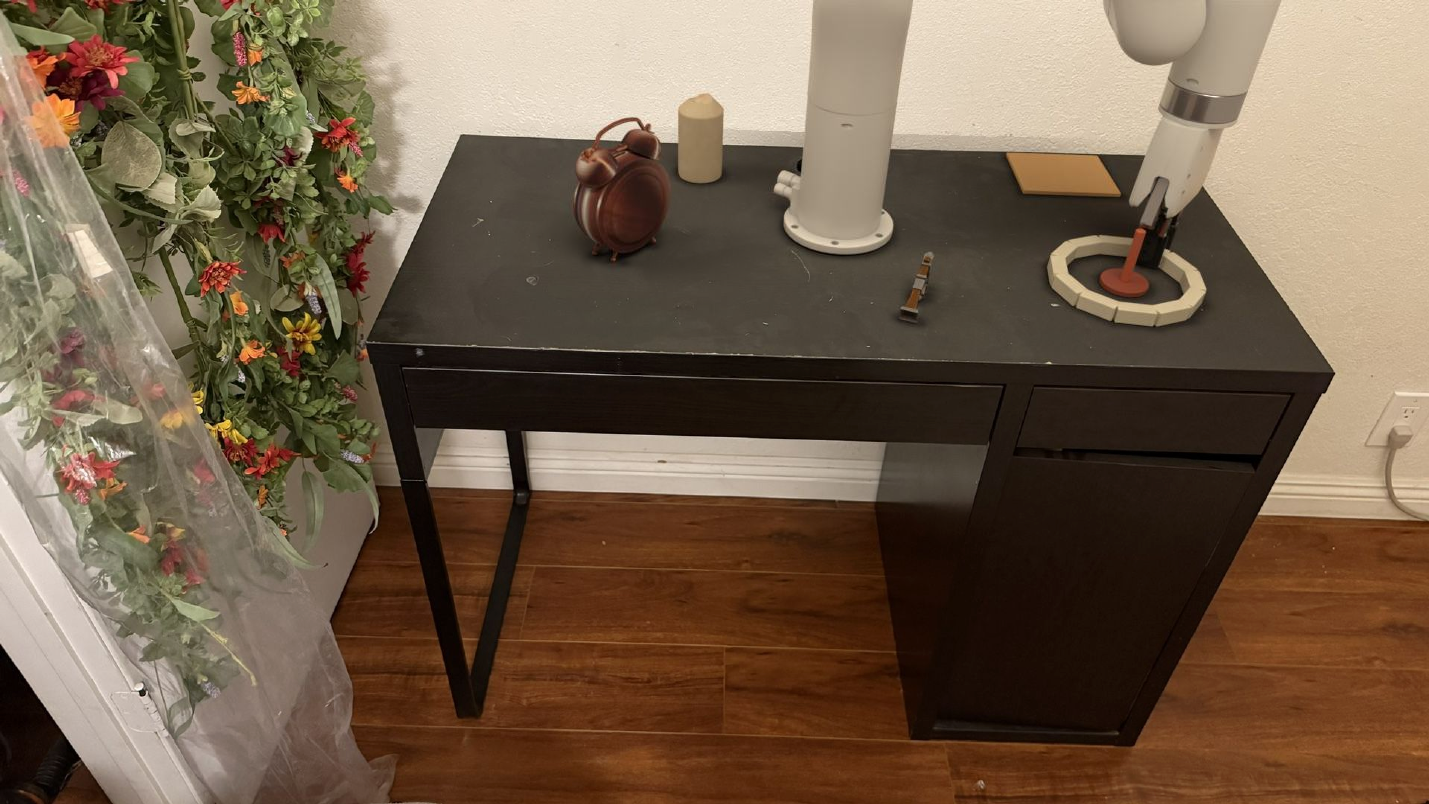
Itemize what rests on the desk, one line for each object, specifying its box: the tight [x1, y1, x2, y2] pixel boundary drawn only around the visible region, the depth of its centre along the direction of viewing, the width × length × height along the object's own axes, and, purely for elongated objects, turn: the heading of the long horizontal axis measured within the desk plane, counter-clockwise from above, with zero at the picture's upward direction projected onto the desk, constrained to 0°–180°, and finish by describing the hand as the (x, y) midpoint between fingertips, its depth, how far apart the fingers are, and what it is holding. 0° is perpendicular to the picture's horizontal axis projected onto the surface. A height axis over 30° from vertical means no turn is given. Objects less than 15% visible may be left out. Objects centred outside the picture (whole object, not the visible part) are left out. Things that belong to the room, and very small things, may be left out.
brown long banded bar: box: [899, 251, 935, 324], centre depth 102 cm, size 2×8×4 cm, turn 157°
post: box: [1098, 228, 1150, 298], centre depth 105 cm, size 5×5×7 cm
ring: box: [1046, 234, 1207, 327], centre depth 106 cm, size 16×16×2 cm
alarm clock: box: [572, 116, 672, 262], centre depth 106 cm, size 11×5×15 cm, turn 136°
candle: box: [677, 92, 725, 184], centre depth 122 cm, size 6×6×10 cm
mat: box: [1005, 151, 1122, 198], centre depth 127 cm, size 12×11×1 cm
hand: (1147, 258), depth 111 cm, fingers closed on ring
